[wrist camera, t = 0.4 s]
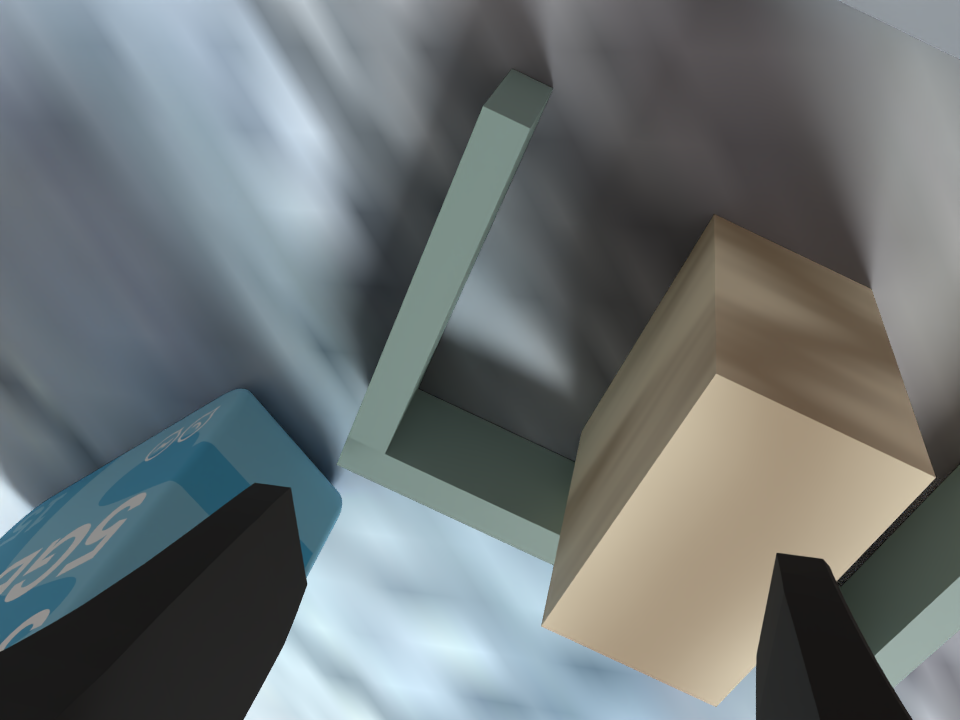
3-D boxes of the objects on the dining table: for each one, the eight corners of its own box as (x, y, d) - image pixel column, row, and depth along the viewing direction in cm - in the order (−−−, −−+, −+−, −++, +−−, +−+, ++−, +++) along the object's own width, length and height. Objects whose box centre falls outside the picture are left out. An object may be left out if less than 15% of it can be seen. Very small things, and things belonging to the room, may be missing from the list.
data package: (263, 368, 25) (-26, 727, 15) (361, 481, 27) (154, 877, 17) (26, 509, 31) (-300, 843, 21) (118, 597, 32) (-147, 949, 22)
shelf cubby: (1119, 360, 20) (1177, 437, 17) (852, 622, 26) (867, 711, 23) (511, 68, 20) (483, 105, 17) (373, 399, 25) (336, 464, 23)
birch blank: (871, 288, 20) (935, 477, 15) (714, 492, 24) (716, 707, 18) (714, 213, 20) (716, 373, 15) (581, 430, 24) (541, 626, 18)
